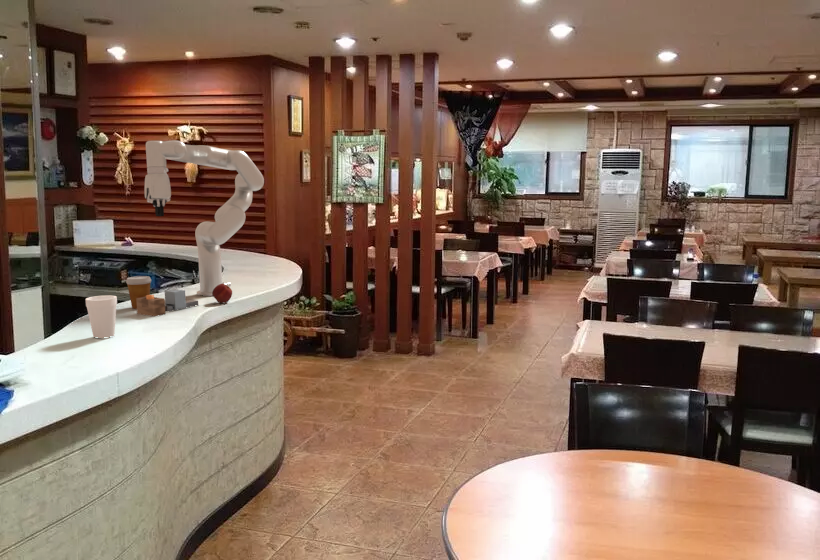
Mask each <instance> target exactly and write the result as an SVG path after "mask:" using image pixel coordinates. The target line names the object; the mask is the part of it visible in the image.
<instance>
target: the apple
mask: <svg viewBox="0 0 820 560" xmlns="http://www.w3.org/2000/svg"><path fill="white" fill-rule="evenodd" d="M212 295H213V296H212V297H213V298H214V299H215V301H216V302H217V303H220V304H226V303H228V302H229V301H230V299H231V298H232V295H233V290H232V289H231V286H230V287H228V286H227V285H225V284H219V285H217V286H216V287H215V288H214V289H213V292H212Z"/></svg>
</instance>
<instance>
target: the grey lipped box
mask: <svg viewBox="0 0 820 560" xmlns="http://www.w3.org/2000/svg"><path fill="white" fill-rule="evenodd" d="M164 301H165V305H167V304H172V305H174V309H179V310H182V309H181V308H184V309H187V308H186V301H187V300H186V290H185V289H177V288H174V289H173V288H172V289H167V290H164Z"/></svg>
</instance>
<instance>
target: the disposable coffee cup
mask: <svg viewBox="0 0 820 560" xmlns="http://www.w3.org/2000/svg"><path fill="white" fill-rule="evenodd" d="M125 283H126V284H127V289H128V294H129V299H130V304H131V308H132V309H134V310H137V302H136V298H140V297H146V295H151V294H150V293H151V283H152V279H151V277H150V276H149V275H148V276H147V275H136V276H131V277H130V276H129V277H127V278H126V281H125Z"/></svg>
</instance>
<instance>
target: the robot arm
mask: <svg viewBox="0 0 820 560" xmlns="http://www.w3.org/2000/svg"><path fill="white" fill-rule="evenodd" d="M145 153H146V154H145V155H146V170H147V171H146V173H147V174H146V175H145V178H144V198H145V199H146V202H147V203H151V204H152V206H153V207H154V210H155V211H154V212H155V217H164V215H165V209H164V207H165V206H166V203H168V202H170V201H171V198H172V197H171V196H172V189H171V188H172V187H171V182H170V177H169V174H167V173H168V172H169V168H168V167H167V160H171V161H175V162H182V163H186V164H188V163H189V164H193V165H199V166H205V167H211V168H216V169H223V170H229V171H236V172H237V173H238V174H236V176H235V180H234V185H235V188H234V189H235V190H234V193H233V194H232V196H231V197H230V198H229V199H228V200H226V202H225V203H224V204H223V205H221V206H220V207H219V208H218V209H217V210H216V212H215V214H214V220H215V221H208V220H207V221H203V222H201V223H199V224H198V225H197V227H196V229H195V230H194V231H195V235H194V236H195V240H196V241H195V242H196V246H197V253H198V254H197V255H198V273H199V274H198V276H199V290H197V291H196V295H197V296H200V295H203V296H204V297H211V296H212V297H213V295H212V292H213V289H214V288H215V287H216V286H217V285H219V284H225V285H227V286H228V287H230V288H231V282H223V270H222V252H221V251H222V250H221V245H223V244H225V243H226V242H227V241H228V240H230V238H232V236H234V235H235V234H236V233H237V232H238V231H239V230H240V229H241V228H242V227H243V225H244V224H245V221H246V213H245V212H246V211H247V210H248V209H249V207H250V206H251V205H252V203H253V192H257V191H259V190H261V189H263V187H264V184H265V179H264V176H263V174H262V172H261V171H260V170H259V168H258V166H256V164H255V163H254V162H253V160H252V159H251V158H250V156H249V155H248V154H247V153H246V152H245V151H242V150H239V149H238V150H232V149H226V148H219V147H215V146H212V145H211V146H210V145H203V144H202V145H197V144H196V145H195V144H192V145H191V144H185V143H184V142H182V141H180V140H174V139H173V140H165V141H163V140H147V141H146V142H145ZM203 296H202V297H203Z"/></svg>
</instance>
